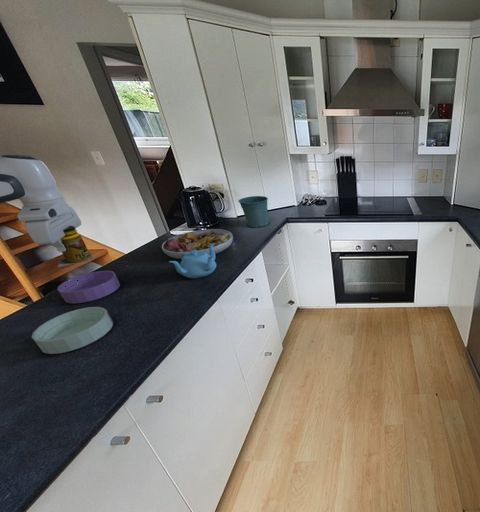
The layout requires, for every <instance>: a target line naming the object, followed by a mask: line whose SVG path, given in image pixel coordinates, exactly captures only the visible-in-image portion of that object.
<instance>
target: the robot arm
mask: <svg viewBox="0 0 480 512" xmlns="http://www.w3.org/2000/svg"><path fill="white" fill-rule="evenodd" d="M15 200H20V202H21V204H22V207H21V209H20V211H19V212H18V214H17V216H16V217H17V219H18V221H19V222H21V223H24V224H23V225H24V229H25V230H26V232H27V234H28V235H29V237H30V238H31V239H32V241H33V242H34V243H35V244H36V245H38V246H44V245H45V246H47V245H51V246H53V248H56V250H57V252H59V253H62V252H64V251H66V250H67V247H66V245H63V244H62V243H61V238H62V237H64V236H65V233H64V232H63V230H65V229H66V228H68V227H69V226H74V227H75V229H76V230H77V228H79V227H80V226H82V220H81V219H80V216H79V215H78V214H77V212H76V211H75V209H74V208H73V206H70V205H69V204H68V203H67V201H66V199H65V196H64V195H63V194H62V193H61V191H59V190H58V185H57V182H56V180H55V178H54V176H53V174H52V172H51V171H50V169H49V167H47V165H46V164H45V163H44V162H43V161H42V160H40V159H39V158H36V157H34V156H30V155H22V154H4V155H3V154H2V155H0V204H4V203H9V202H12V201H15Z"/></svg>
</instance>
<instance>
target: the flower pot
mask: <svg viewBox="0 0 480 512" xmlns="http://www.w3.org/2000/svg"><path fill="white" fill-rule="evenodd" d="M268 200H269V198H268V197H267V196H264V195H263V196H262V195H252V196H247V197H243V198H240V199H238V203H239V204H240V208H241V209H242V212H243V214H244V215H243V216H244V217H245V221H246V224H247V226H248V227H249V228H259V227H260V228H261V227H262V228H263V227H266V226H267V225H269V223H270V222H269V212H268V204H269V203H268Z"/></svg>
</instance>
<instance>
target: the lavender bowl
mask: <svg viewBox="0 0 480 512" xmlns="http://www.w3.org/2000/svg"><path fill="white" fill-rule="evenodd" d="M77 280H78V281H77ZM65 286H66V287H65ZM120 286H121V282H120V280H119V278H118V276H117V273H116V272H114V271H112V270H99V271H91V272H88V273H83V274H80V275H77V276H74V277H71V278H69V279H67V280H66V281H64V282H62V283H60V284H59V285H58V286H57V289H56V291H57V292H58V294H59V295H60V297H61V299H62V300H63V302H64V303H66V304H82V303H83V304H84V303H88V302H92V301H96V300H99V299H102V298H105V297H107V296H109V295H111V294H113V293H114V292H115V291H117V290H118V289H119V288H120Z"/></svg>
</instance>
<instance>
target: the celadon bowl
mask: <svg viewBox="0 0 480 512" xmlns="http://www.w3.org/2000/svg"><path fill="white" fill-rule="evenodd" d="M113 326H114V321H113V320H112V318H111V316H110V314H109V312H108V310H107V309H106V308H104V307H101V306H89V307H82V308H78V309H75V310H71V311H67V312H64V313H61V314H60V315H57V316H54V317H53V318H51V319H48V320H47V321H45V322H44V323H42V324H41V325H39V326H38V327H36V329H35V330H34V331H33V332H32V335H31V339H32V340H33V341H34V343H35V344H36V345H37V347H38V349H40V350H41V352H42V353H44V354H48V355H55V354H56V355H59V354H63V353H68V352H72V351H75V350H79V349H81V348H84V347H86V346H88V345H90V344H92V343H94V342H96V341H97V340H99V339H101V338H102V337H104V336H105V335H106V334H107V333H108V332H110V331H111V329H112V328H113Z"/></svg>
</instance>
